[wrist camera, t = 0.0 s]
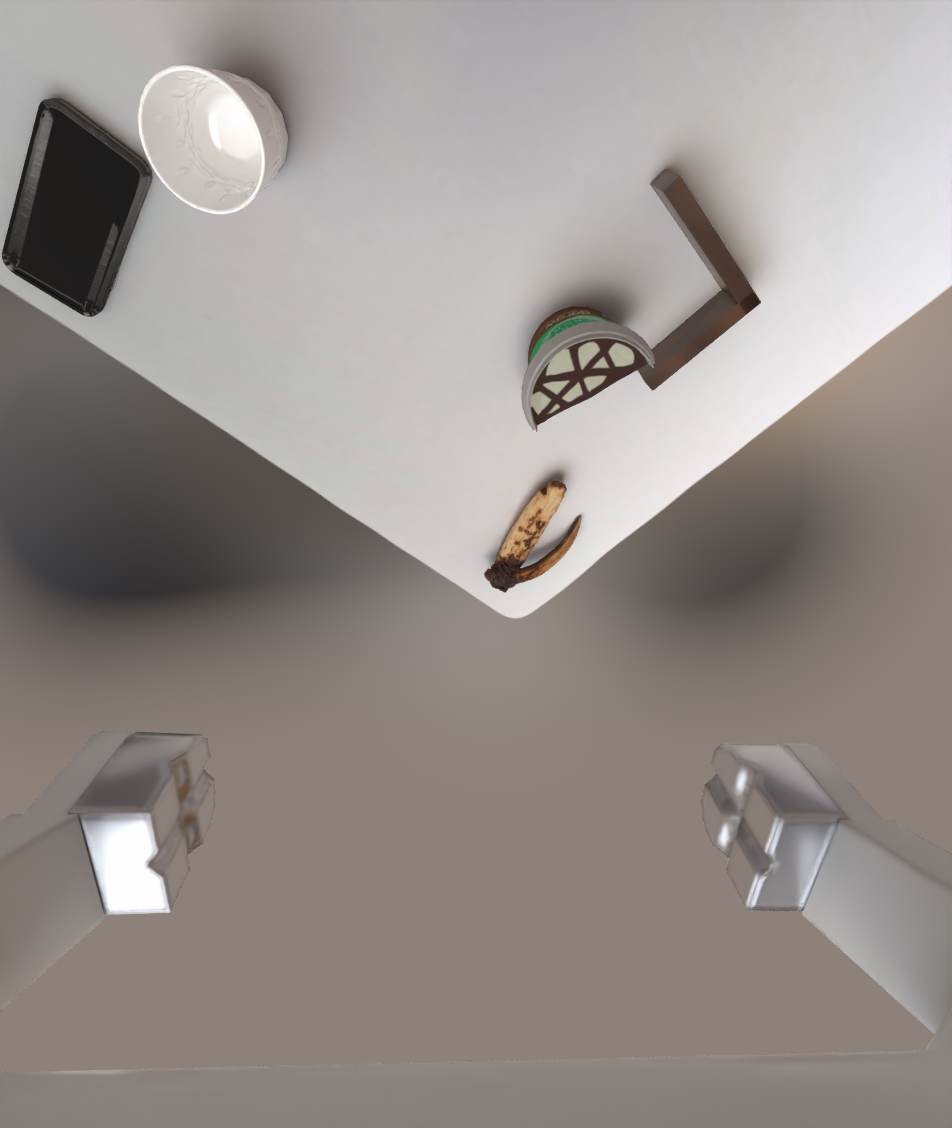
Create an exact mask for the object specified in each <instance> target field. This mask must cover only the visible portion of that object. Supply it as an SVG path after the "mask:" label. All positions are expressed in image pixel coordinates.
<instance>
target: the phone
mask: <svg viewBox="0 0 952 1128" xmlns="http://www.w3.org/2000/svg"><path fill="white" fill-rule="evenodd" d="M150 183H151V172H150V169H149V167H148V165H147V164H146V163H145V161H144V160H142V159H141V158H140V157H139V156H138V155H136V154H135V153H134V152H132V151H131V150H130V149H128V148H127V147H126V146H124V145H123V144H122V143H120V142H119V141H118V140H116V139H115V138H114V137H112V136H111V135H110V134H108V133H107V132H105V131H104V130H103V129H101V128H100V127H99V126H97V125H96V124H95V123H93V122H92V121H91V120H89V119H88V118H87V117H85V116H84V115H83V114H81V113H80V112H79V111H77V110H76V109H75V108H73V107H72V106H71V105H69V104H68V103H67V102H65V101H63V100H61V99H47V100H43V101H42V102H41V103H40V105H39V107H38V111H37V116H36V120H35V124H34V128H33V132H32V136H31V140H30V144H29V148H28V152H27V156H26V160H25V164H24V168H23V172H22V176H21V180H20V184H19V188H18V192H17V196H16V200H15V204H14V208H13V212H12V216H11V220H10V224H9V228H8V232H7V236H6V240H5V244H4V248H3V252H2V259H3V262H4V264H5V265H6V267H7V268H8V269H9V270H10V271H11V272H13V273H14V274H16V275H17V276H19V277H21V278H22V279H24V280H25V281H27V282H29V283H30V284H32V285H34V286H35V287H37V288H39V289H40V290H42V291H44V292H45V293H47V294H49V295H50V296H52V297H54V298H55V299H57V300H58V301H60V302H62V303H63V304H65V305H67V306H68V307H70V308H72V309H73V310H75V311H77V312H78V313H80V314H82V315H84V316H87V317H93V316H95V315H97V314H98V313H100V312H101V311H102V310H103V308H104V306H105V303H106V300H107V298H108V295H109V292H110V290H111V287H112V284H113V282H114V279H115V276H116V274H117V271H118V268H119V266H120V263H121V260H122V258H123V255H124V252H125V250H126V247H127V244H128V242H129V239H130V236H131V234H132V231H133V228H134V226H135V223H136V220H137V218H138V215H139V212H140V210H141V207H142V204H143V201H144V199H145V196H146V193H147V191H148V188H149V185H150Z"/></svg>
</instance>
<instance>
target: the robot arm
mask: <svg viewBox="0 0 952 1128" xmlns="http://www.w3.org/2000/svg"><path fill="white" fill-rule="evenodd" d="M209 758H210V751H209V745H208V740H207V738H206V737H204V736H203V735H200V734H174V733H150V732H149V733H148V732H135V733H132V732H109V731H102V732H99V733H97V734H95V735H92V737H90V738H89V740H88V741H87V742H86V743H85V744H84V745H83V746H82V748H81V749H80V750H79V751H78V752H77V753H76V755H75V756H74V757H73V758H72V759H71V760H70V761H69V762H68V764H67V765H66V766H65V767H64V768H63V769H62V771H61V772H60V773H59V774H58V775H57V776H56V777H55V778H54V780H53V781H52V782H51V783H50V784H49V785H48V787H47V788H46V789H45V790H44V791H43V792H42V793H41V795H40V796H39V797H38V798H37V799H36V801H34V802H33V804H32V805H31V806H30V807H29V808H28V809H27V810H26V812H25V813H24V814H11V815H9V816H7V817H5V818H4V819H1V820H0V1011H2V1010H3V1009H4V1008H5V1007H6V1006H7V1005H8V1004H9V1003H10V1002H12V1001H13V1000H14V999H15V998H16V997H17V996H18V995H20V994H21V993H22V992H23V991H24V990H25V989H26V988H27V987H29V986H30V985H31V984H32V983H33V982H34V981H35V980H36V979H38V978H39V977H40V976H41V975H42V974H43V973H44V972H45V971H46V970H48V969H49V968H50V967H51V966H52V965H53V964H54V963H55V962H56V961H58V960H59V959H60V958H61V957H62V956H63V955H64V954H66V953H67V952H68V951H69V950H70V949H71V948H72V947H73V946H74V945H76V944H77V943H78V942H79V941H80V940H81V939H82V938H84V937H85V936H86V935H87V934H88V933H89V932H90V931H91V930H92V929H93V928H95V927H96V926H97V925H98V924H99V923H100V922H101V921H103V919H105V916H104V915H107V914H133V913H135V914H136V913H166V912H170V911H171V909H172V907H173V905H174V902H175V900H176V898H177V896H178V894H179V892H180V890H181V888H182V886H183V883H184V882H185V879H186V877H187V875H188V873H189V871H190V867H189V860H188V854H189V853H191V852H192V851H193V850H194V849H196V848H197V847H198V846H200V845H201V844H202V843H203V841H204V839H205V837H206V834H207V832H208V830H209V828H210V824H211V820H212V816H213V812H214V808H215V785H214V779H213V777H212V776H211V775H210V774H208V773H207V772H206V771H205V770H204V767H205V765H206V763H207V761H208V759H209ZM711 764H712V766H713V768H714V769H715V771H716V773H717V774H716V775H715V776H714V777H713V778H712V779H711V780H709V781H708V782H707V783H706V784H705V786H704V790H703V795H702V799H701V807H702V819H703V822H704V825H705V829H706V832H707V834H708V836H709V838H710V840H711V842H712V844H713V846H715V847H716V848H717V849H718V850H720V851H721V852H722V853H724V854H725V855H726V856H727V857H729V860H728V864H727V868H726V871H727V873H728V875H729V877H730V879H731V881H732V882H733V884H734V886H735V888H736V890H737V892H738V894H739V896H740V898H741V899H742V901H743V903H744V905H745V907H746V909H747V910H769V911H771V910H772V911H803V913H802V915H804V917H805V918H807V919H808V920H809V921H810V922H811V923H812V924H813V925H814V926H816V928H818V929H819V930H820V931H821V932H822V933H823V934H824V935H825V936H827V937H828V938H829V939H830V940H831V941H832V942H833V943H834V944H835V945H836V946H838V947H839V948H840V949H841V950H842V951H843V952H844V953H845V954H846V955H847V956H848V957H850V958H851V959H852V960H853V961H854V962H855V963H856V964H857V965H859V966H860V967H861V968H862V969H863V970H864V971H865V972H866V973H867V974H868V975H869V976H871V977H872V978H873V979H874V980H875V981H876V982H877V983H878V984H880V986H882V987H883V988H884V989H885V990H886V991H887V992H888V993H890V995H892V996H893V997H894V998H895V999H896V1000H897V1001H898V1002H899V1003H900V1004H901V1005H903V1006H904V1007H905V1008H906V1009H907V1010H908V1011H909V1012H910V1013H912V1015H914V1016H915V1017H916V1018H917V1019H918V1020H919V1021H920V1022H921V1023H922V1024H924V1025H925V1026H926V1027H927V1028H928V1029H929V1030H930V1031H931V1032H933V1034H935V1035H934V1036H933V1038H932V1040H931V1041H930V1043H929V1045H928V1046H927V1048H926V1050H925V1051H891V1052H890V1051H889V1052H888V1051H887V1052H844V1053H802V1054H761V1055H720V1056H681V1057H680V1056H677V1057H636V1058H597V1059H595V1058H594V1059H554V1060H515V1061H514V1060H510V1061H467V1062H425V1063H382V1064H340V1065H297V1066H257V1067H255V1066H254V1067H212V1068H167V1069H124V1070H81V1071H39V1072H0V1128H952V853H950V852H949V851H947V850H945V849H943V848H941V847H940V846H938V845H936V844H934V843H933V842H931V841H929V840H927V839H926V838H924V837H922V836H920V835H918V834H917V833H915V832H913V831H911V830H910V829H908V828H906V827H904V826H903V825H901V824H899V823H897V822H896V821H892V820H891V821H890V820H883V819H882V817H880V815H879V814H878V813H877V812H876V811H875V810H874V809H873V808H872V806H871V805H870V804H869V803H868V802H867V801H866V800H865V799H864V798H863V796H862V795H861V794H860V793H859V792H858V791H857V790H856V788H854V786H853V785H852V784H851V783H850V782H849V781H848V780H847V778H846V777H845V776H844V775H843V774H842V773H841V772H840V771H839V770H838V768H837V767H836V766H835V765H834V764H833V763H832V762H831V761H830V760H829V759H828V758H827V756H826V755H825V754H824V753H823V752H822V751H821V750H820V749H819V748H818V747H816V746H814V745H812V744H810V743H805V744H804V743H801V744H779V745H777V744H720V745H719V746H718V747H717V748H716V750H715V751H714V754H713V758H712V761H711Z"/></svg>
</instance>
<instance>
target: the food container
mask: <svg viewBox="0 0 952 1128" xmlns="http://www.w3.org/2000/svg"><path fill="white" fill-rule="evenodd" d="M647 364H649V365H650V366H651V367H652V368H654V366H653V364H655V359H654V354H653V353H652V351H651V349H650V347H649V346H648V344H647V343H646V342H645V341H644V339H643V338H641V337H640V336H639V335H638V334H637V333H636V332H634V331H632V330H630V329H629V328H627V327H625V326H622V325H619V324H616V323H613V322H612V321H610V320H609V319H608V318H607V317H606V316H605V315H604V314H603V313H601V312H599V311H596V310H594V309H591V308H589V307H570V308H566V309H563V310H560V311H558V312H556V313H554V314H552V315H551V316H550V317H548V318H547V319H546V320H545V321H544V322H543V323H542V324H541V325H540V326H539V328H538V329H537V330H536V332H535V334H534V336H533V338H532V340H531V343H530V347H529V352H528V368H527V371H526V374H525V376H524V380H523V385H522V396H521V398H522V407H523V411H524V414H525V417H526V419H527V421H528V423H529V425H530V426H531V428H532V429H533V430H534V429H535V430H536V432H537V425H539V424H540V423H543V422H545V421H546V420H547V419H549V418H551V417H552V416H554V415H556V414H558V413H560V412H562V411H563V410H566V409H568V408H570V407H572V406H574V405H576V404H578V403H580V402H583V401H585V400H587V399H589V398H591V397H593V396H594V395H596V394H597V393H599V392H601V391H602V390H604V389H605V388H607V387H608V386H610V385H612V384H613V383H615V382H616V381H618V380H620V379H622V378H623V377H625V376H627V375H629V374H631V373H632V372H634V371H636V370H638V369H640V368H642V367H643V366H645V365H647Z"/></svg>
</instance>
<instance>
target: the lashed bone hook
mask: <svg viewBox="0 0 952 1128" xmlns="http://www.w3.org/2000/svg"><path fill="white" fill-rule="evenodd" d="M565 492H566V486H565V485H564V484H563V483H562V482H560V481H558V480H554V481H551V482H550V483H549V484H548V487H547V488H542V489H539V491H538V493H537V494H536V495H535V496H534V497H533V499H532V500H531V501H530V502H529V503H528V504H527V505H526V506H525V508H524V510H523V512H522V514H521V515H520V517H519V519H518V520H517V521H516V523H515V524H514V525H513V527H512V528H511V530H510V533H509V534H508V535H507V537H506V540H505V542H504V543H503V545H502V548H501V550H500V552H499V554H498V555H497V559H496V561H495V563H494V565H492V566H491V569H487V571H486V572H485V573H484V575H485V578H486V579H487V580H488V581H490V584H491V586H492V587H494V588H496V589H499V590H500V591H503V592H506V591H507V590H508V588H511V587H514V586H515V585H516V584H518V583H522V582H525V581H528V580H532V579H534V578H536V577H538V576H540V575H542V574H543V573H545V572H546V571H548V570H549V569H550V568H551V567H553V566H554V565H555V564H556V563H557V562H558V561H559V560H560V559H561V558H562V557H563V556H564V555H565V554H566V552H567V551H568V550H569V549H570V547H571V545H572V544H573V542H574V540H575V538H576V536H577V533H578V531H579V527H580V523H581V515H580V516H578V518H577V519H576V520H575V522H574V523H573V525H572V526H571V528H570V529H569V531H568V533H567V534H566V536H565V537H564V538H563V540H562V541H561V542H560V544H559V545H557V546H556V547H555V548H554V549H553V550H552V551H551V552H549V553H548V554H547V555H546V556H544V557H543V558H542V559H540V560H539V561H537V562H536V563H534V564H532V565H530V566H526V567H524V568H520V567H521V566H522V564H523V563H524V562H525V559H526V558H527V556H528V554H529V553H530V551H531V550H532V549H533V547H534V545H535V544H536V543H537V541H538V539H539V537H540V536H541V534H542V533H543V532H544V530H545V528H546V526H547V525H548V523H549V520H550V519H551V517H552V516H553V515H554V513H555V512H556V511H557V509H558V507H559V505H560V502H561V501H562V499H563V498H564V493H565Z"/></svg>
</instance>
